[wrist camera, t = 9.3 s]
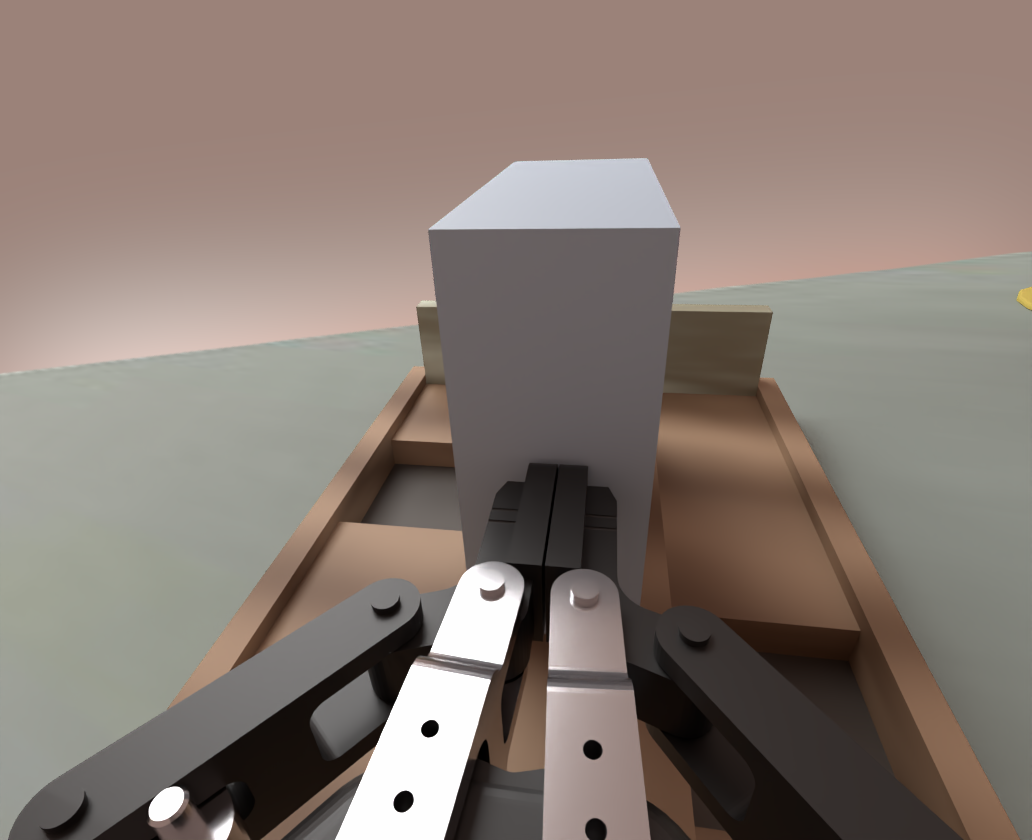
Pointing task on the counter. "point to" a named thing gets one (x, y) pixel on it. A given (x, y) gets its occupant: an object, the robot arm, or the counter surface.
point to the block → (558, 335)
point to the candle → (1025, 297)
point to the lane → (653, 567)
